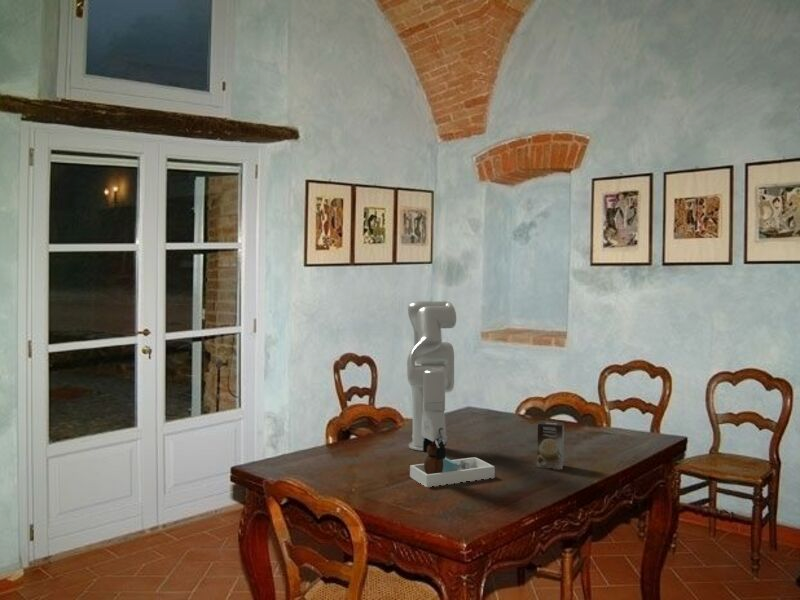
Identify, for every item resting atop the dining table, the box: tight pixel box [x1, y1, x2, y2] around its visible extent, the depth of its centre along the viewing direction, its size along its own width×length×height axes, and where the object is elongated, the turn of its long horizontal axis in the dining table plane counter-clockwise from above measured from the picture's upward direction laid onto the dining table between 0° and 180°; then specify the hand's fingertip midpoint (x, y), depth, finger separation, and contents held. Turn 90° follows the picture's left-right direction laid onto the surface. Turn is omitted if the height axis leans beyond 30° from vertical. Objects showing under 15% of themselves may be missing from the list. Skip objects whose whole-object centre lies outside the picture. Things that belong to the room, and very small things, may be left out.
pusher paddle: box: [442, 456, 469, 472], centre depth 242 cm, size 10×7×5 cm
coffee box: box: [536, 419, 565, 470], centre depth 255 cm, size 9×6×16 cm
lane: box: [409, 456, 496, 488], centre depth 242 cm, size 13×26×4 cm, turn 114°
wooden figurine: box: [423, 441, 443, 474], centre depth 239 cm, size 7×6×15 cm
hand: (433, 455), depth 239 cm, fingers open, 9 cm apart
